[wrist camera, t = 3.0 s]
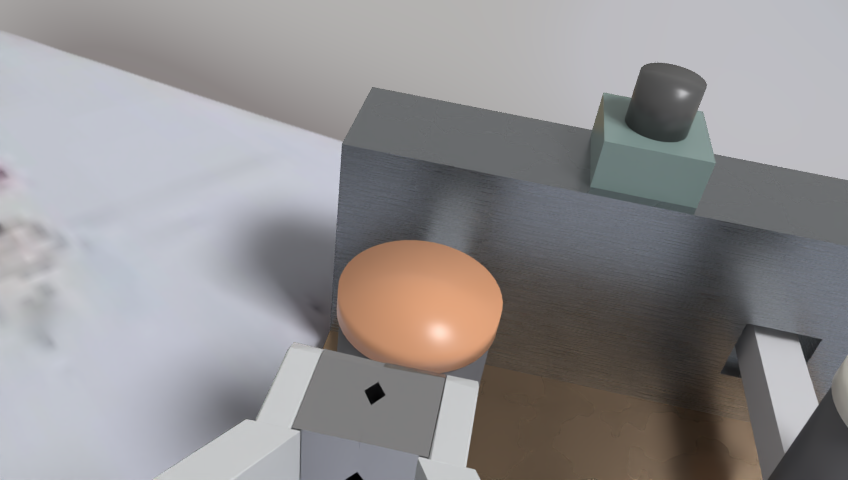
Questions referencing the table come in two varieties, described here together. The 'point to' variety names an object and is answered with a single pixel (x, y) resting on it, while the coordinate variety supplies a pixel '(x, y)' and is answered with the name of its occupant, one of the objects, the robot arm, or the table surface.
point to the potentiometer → (654, 138)
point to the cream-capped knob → (792, 409)
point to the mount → (602, 287)
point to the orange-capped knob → (419, 308)
